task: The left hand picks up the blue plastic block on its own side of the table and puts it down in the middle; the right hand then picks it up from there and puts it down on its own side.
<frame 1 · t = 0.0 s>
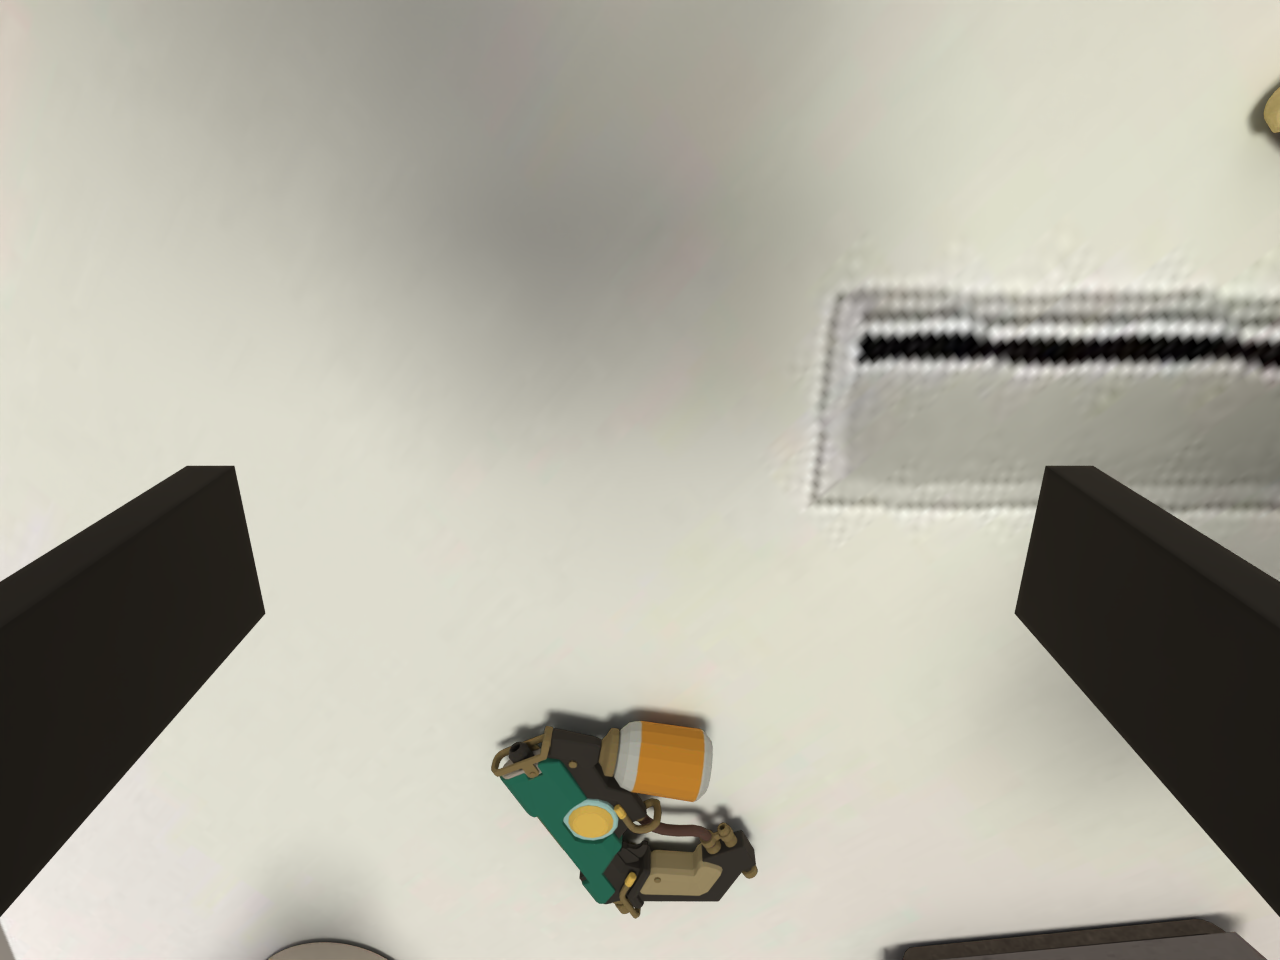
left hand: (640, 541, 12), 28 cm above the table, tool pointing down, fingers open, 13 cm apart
spray gun: (630, 798, 51), on the table
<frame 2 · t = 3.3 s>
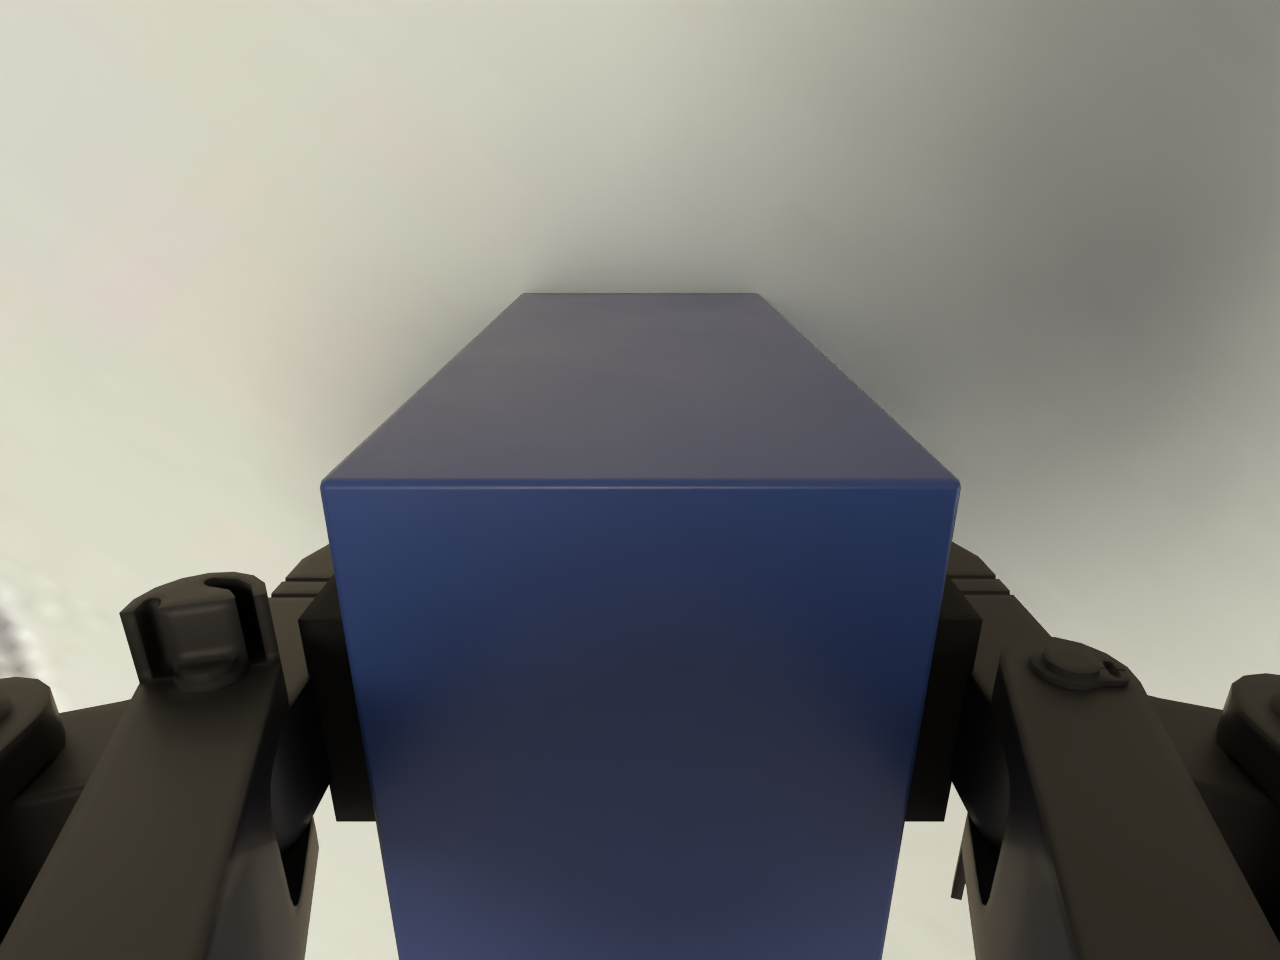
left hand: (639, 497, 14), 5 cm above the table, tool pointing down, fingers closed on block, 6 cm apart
block: (640, 423, 19), on the table, touching left hand
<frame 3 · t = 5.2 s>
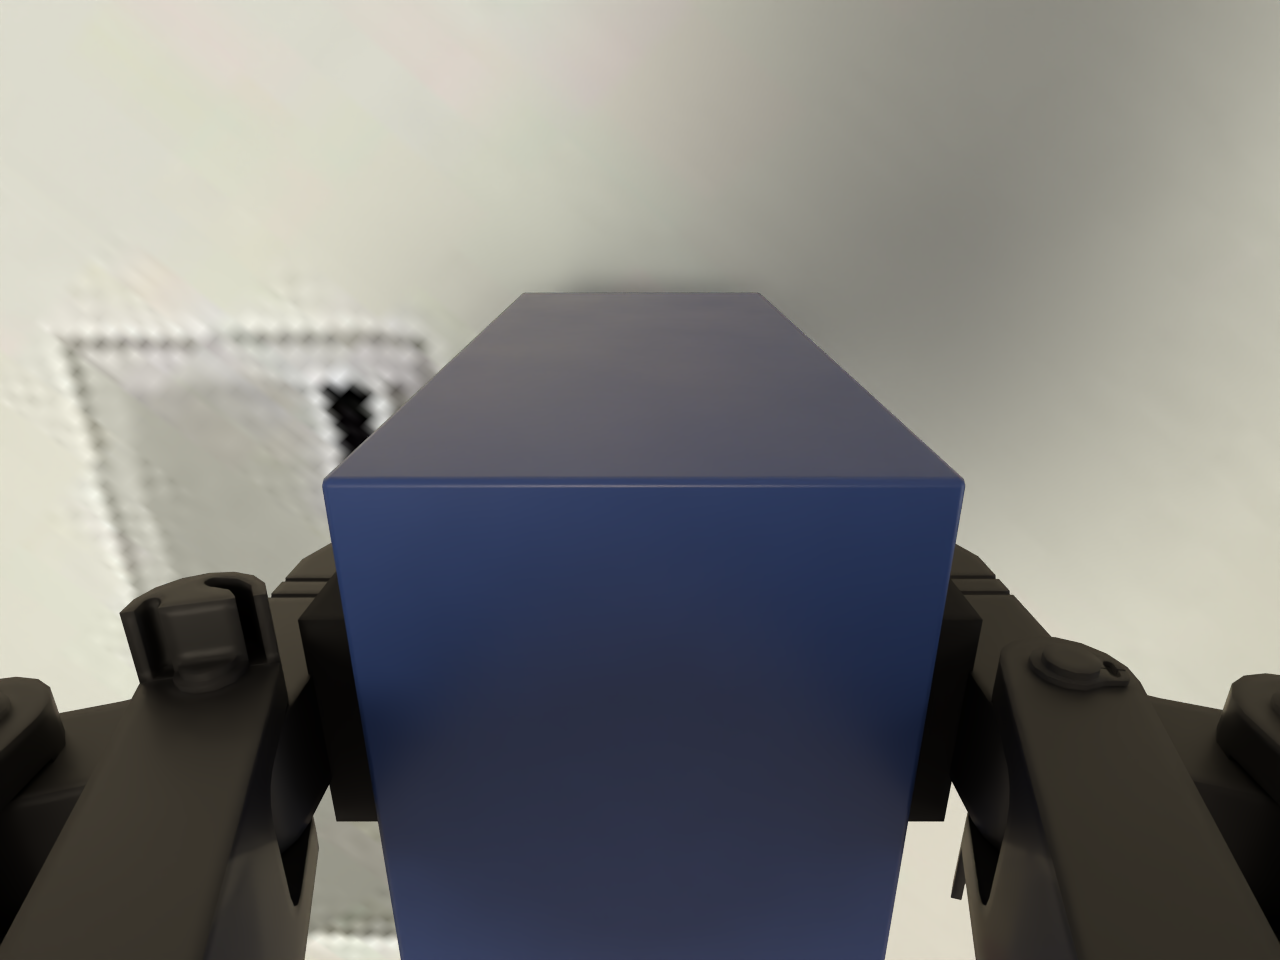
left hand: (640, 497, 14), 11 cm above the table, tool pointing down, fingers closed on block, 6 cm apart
block: (641, 422, 19), point 6 cm above the table, touching left hand
when the left hand's fingers open (6 cm above the table, at t = 6.9 s): block drops 2 cm, on the table.
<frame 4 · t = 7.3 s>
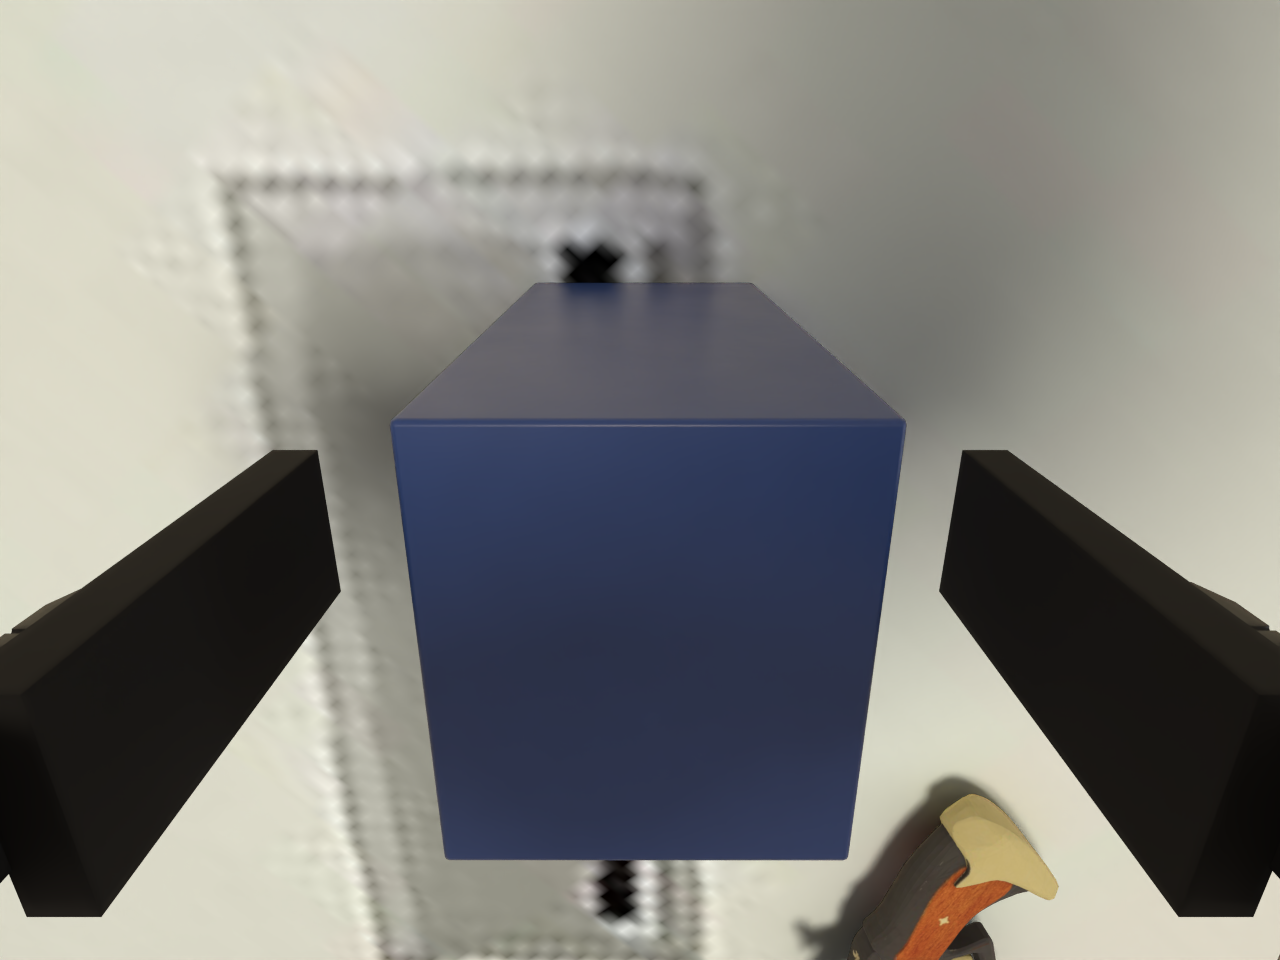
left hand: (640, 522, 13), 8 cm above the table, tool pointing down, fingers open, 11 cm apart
block: (643, 403, 20), on the table
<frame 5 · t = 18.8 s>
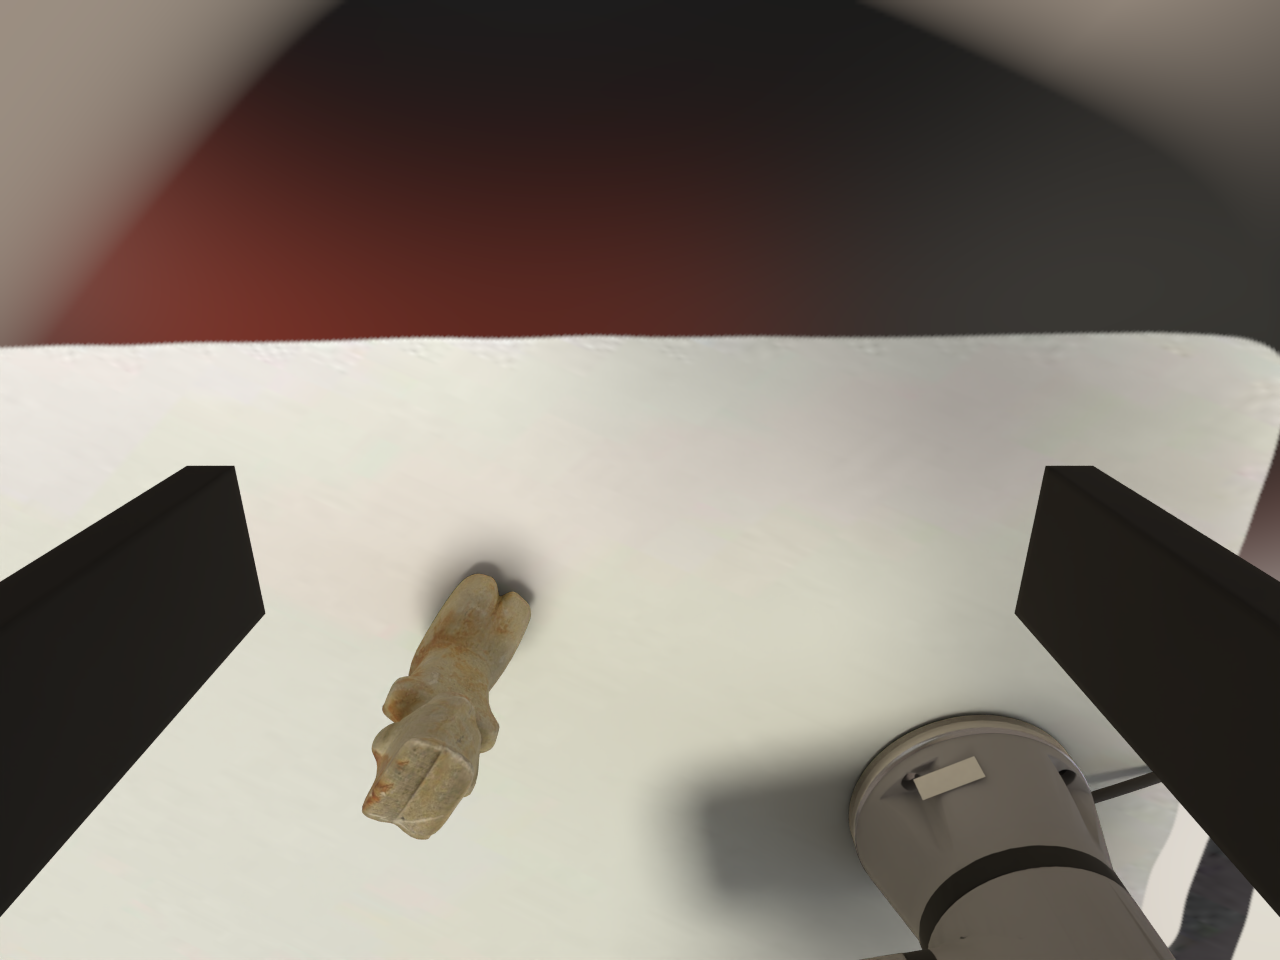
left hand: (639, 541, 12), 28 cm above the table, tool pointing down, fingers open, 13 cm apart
sculpture: (478, 618, 45), on the table
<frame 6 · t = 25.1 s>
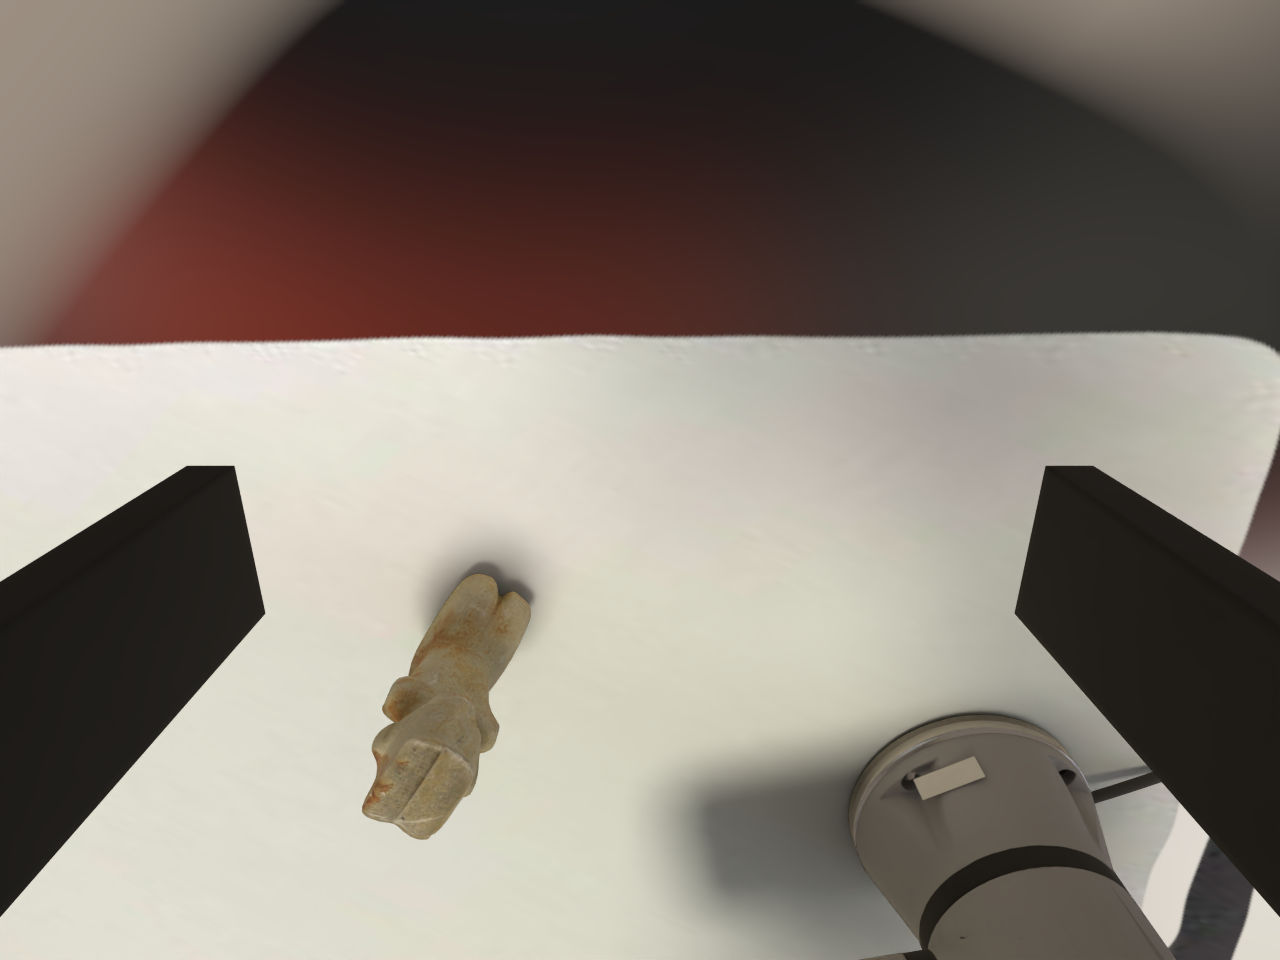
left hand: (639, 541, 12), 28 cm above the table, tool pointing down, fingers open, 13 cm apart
sculpture: (478, 618, 45), on the table
when the right hand's fingers open (6 cm above the table, at t = 31.8 s): block drops 2 cm, on the table.
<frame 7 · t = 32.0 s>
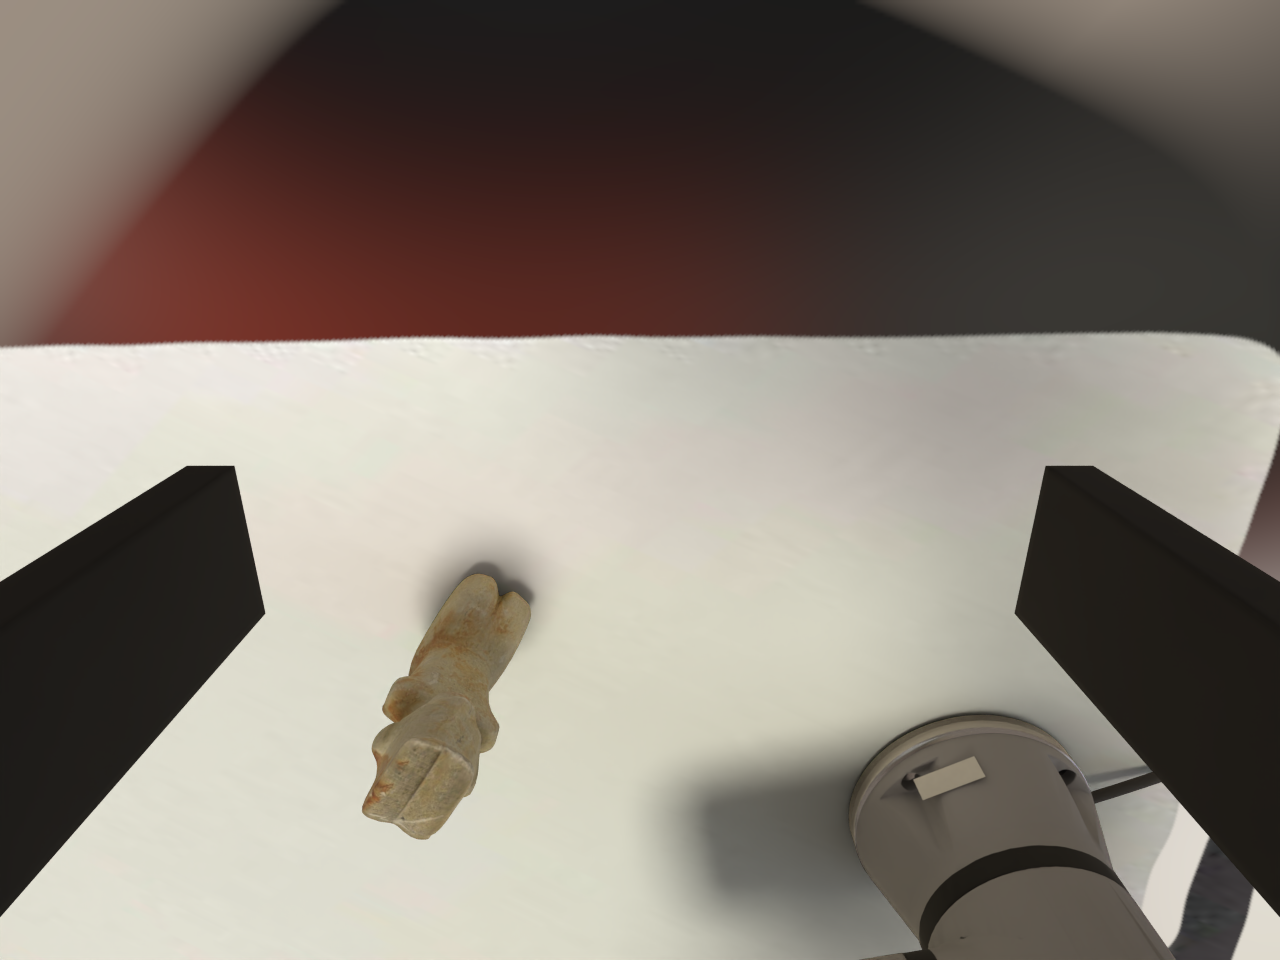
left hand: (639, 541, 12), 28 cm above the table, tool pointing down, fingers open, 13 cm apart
sculpture: (478, 618, 45), on the table
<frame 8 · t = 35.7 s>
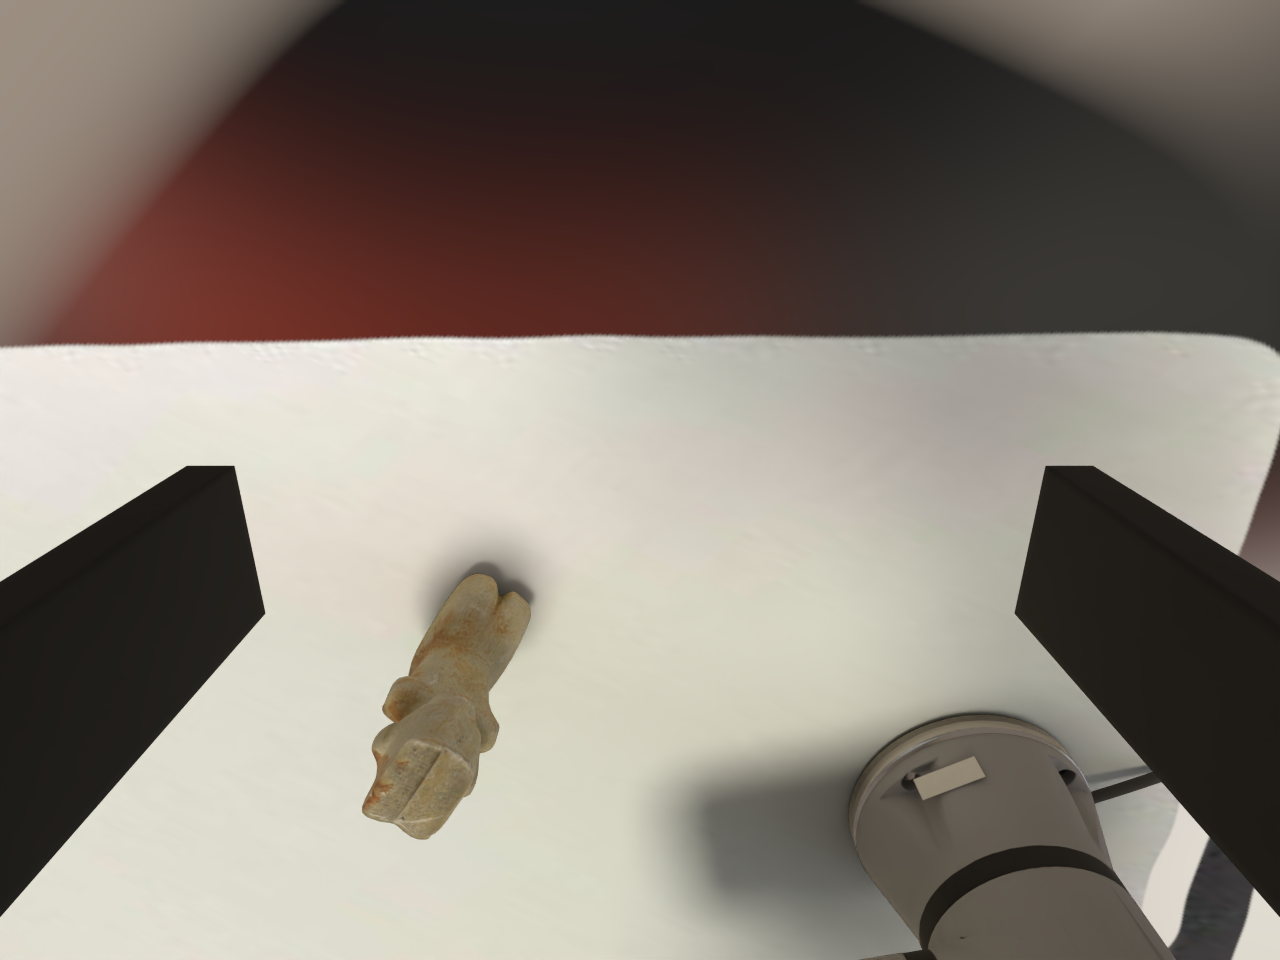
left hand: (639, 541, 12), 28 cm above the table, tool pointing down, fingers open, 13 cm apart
sculpture: (478, 618, 45), on the table
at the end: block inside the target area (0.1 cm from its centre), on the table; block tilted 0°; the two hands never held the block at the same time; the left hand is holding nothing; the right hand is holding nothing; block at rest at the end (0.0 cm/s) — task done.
